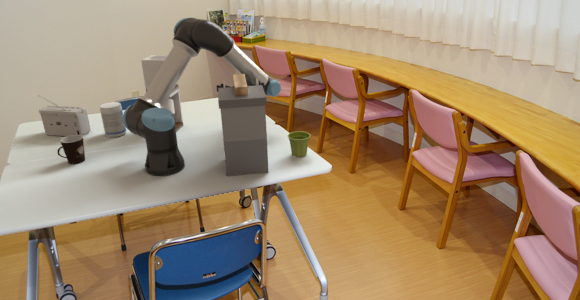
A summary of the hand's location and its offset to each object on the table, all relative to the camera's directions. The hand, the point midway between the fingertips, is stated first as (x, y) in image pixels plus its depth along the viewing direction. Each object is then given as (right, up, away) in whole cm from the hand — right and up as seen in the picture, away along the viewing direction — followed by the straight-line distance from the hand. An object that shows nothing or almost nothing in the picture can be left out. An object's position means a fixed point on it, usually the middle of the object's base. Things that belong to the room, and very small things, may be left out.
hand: (240, 81), depth 184 cm
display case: (-39, -18, +36) cm, 56 cm away
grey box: (+3, -34, -5) cm, 35 cm away
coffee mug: (-70, -33, +3) cm, 77 cm away
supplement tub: (-63, -21, +31) cm, 73 cm away
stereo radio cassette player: (-87, -21, +33) cm, 96 cm away
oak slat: (+1, -4, -11) cm, 12 cm away
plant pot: (+24, -30, +4) cm, 39 cm away
